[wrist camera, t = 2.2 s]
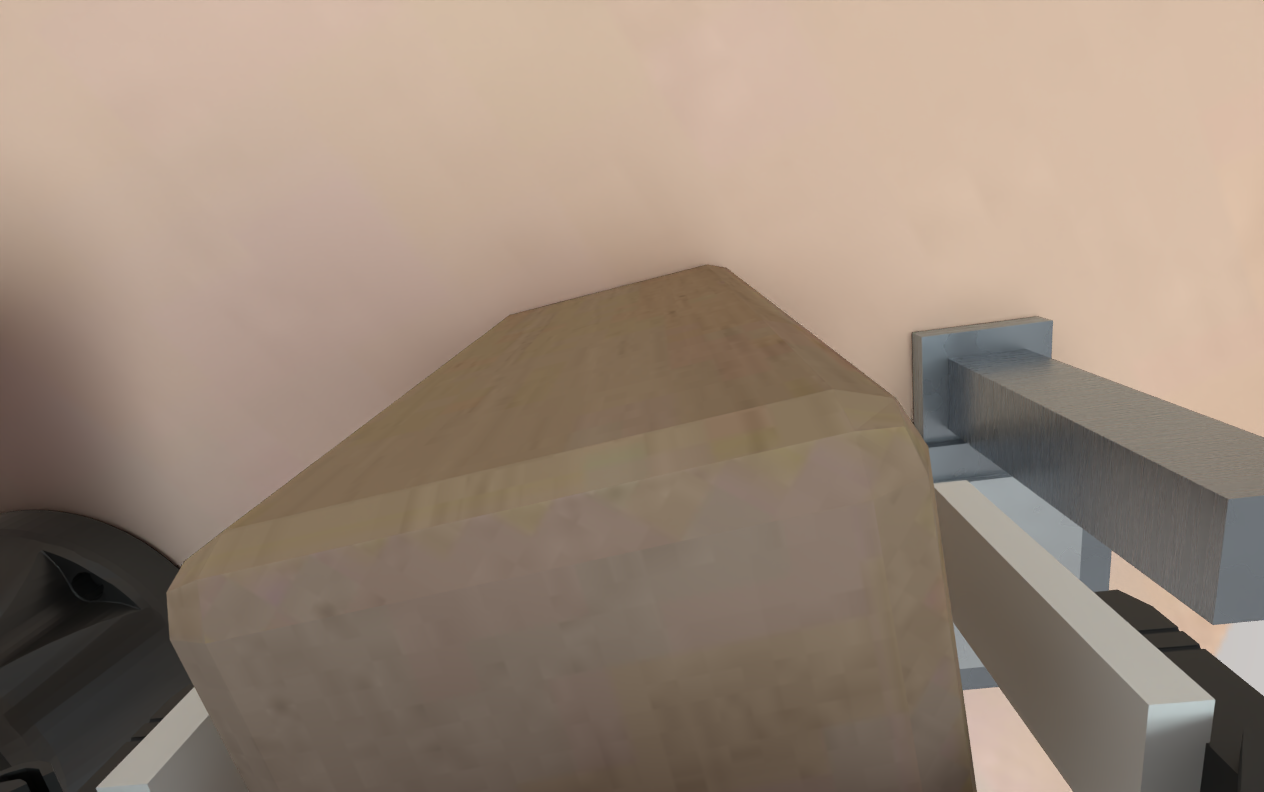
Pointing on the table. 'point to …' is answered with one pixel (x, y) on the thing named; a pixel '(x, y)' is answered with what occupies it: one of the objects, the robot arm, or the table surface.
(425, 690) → the wooden block
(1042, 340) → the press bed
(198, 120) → the table surface
